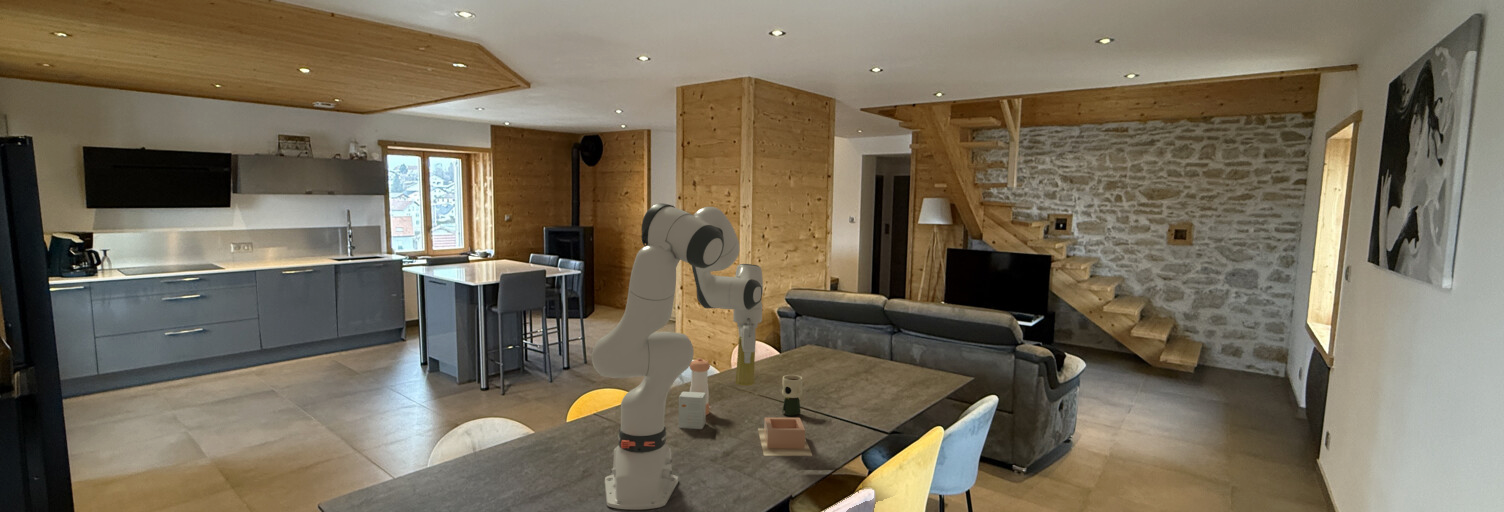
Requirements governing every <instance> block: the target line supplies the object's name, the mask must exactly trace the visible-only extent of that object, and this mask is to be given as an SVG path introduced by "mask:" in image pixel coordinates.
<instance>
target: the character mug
mask: <svg viewBox="0 0 1504 512" xmlns="http://www.w3.org/2000/svg"><path fill="white" fill-rule="evenodd" d="M781 384H782V388H781V395H782V396H783V397H784V398H783V404H782V413H784V415H785V416H796V415H800V414H801V404H800V403H801V401H800V399H799V398H801V397H802V396H803V384H804V378H803V376H801V375H796V374H787V375H783V376H782V383H781Z"/></svg>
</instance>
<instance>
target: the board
mask: <svg viewBox="0 0 1504 512" xmlns="http://www.w3.org/2000/svg"><path fill="white" fill-rule="evenodd" d="M757 431H758V432H757V433H758V435H759V440H760V444H761V449H762V454H763V456H764V457H768V456H769V457H812V456H813V454H812V451H811V448H810V446H809V444H808V441H807V439H806V438H805V447H804V448H767V445H766V441H765V437H764V428H757Z"/></svg>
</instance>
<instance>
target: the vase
mask: <svg viewBox="0 0 1504 512" xmlns="http://www.w3.org/2000/svg"><path fill="white" fill-rule="evenodd" d="M741 341H742V339H741V337H739V336H738V345H737V346H738V347H737V348H738V349H737V358H736V359H737V360H736V373H735V381H734V382H735V384H736V385H740V386H746V387H747V386H749V387H750V386H753V385H754V384H755V383H756V380H755V360H756V359H755V357H756V351H755V352H751V357H750V363H745V362H744V352H743V349H742V345H741ZM756 342H757V339H756V337H755V344H756Z"/></svg>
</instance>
